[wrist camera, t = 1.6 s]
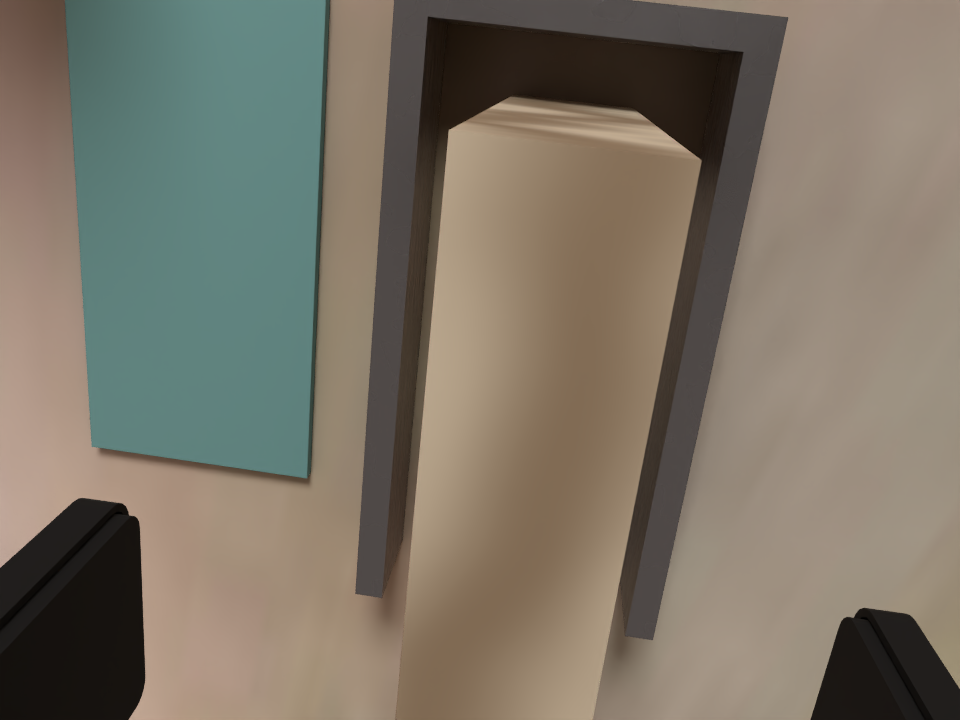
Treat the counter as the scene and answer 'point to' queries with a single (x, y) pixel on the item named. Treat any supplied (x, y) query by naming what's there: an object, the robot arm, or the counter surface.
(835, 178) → the counter surface
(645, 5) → the bracket
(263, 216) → the mat
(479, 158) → the wooden block
